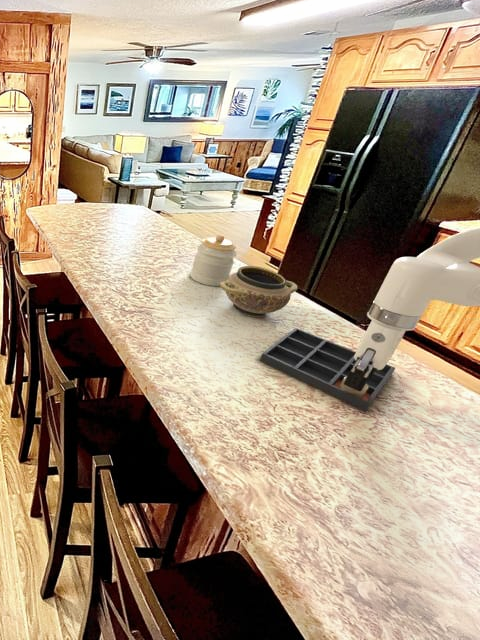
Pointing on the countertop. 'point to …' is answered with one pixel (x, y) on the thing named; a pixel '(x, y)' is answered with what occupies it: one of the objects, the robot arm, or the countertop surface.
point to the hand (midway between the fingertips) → (356, 381)
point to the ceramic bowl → (257, 291)
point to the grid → (322, 366)
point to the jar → (213, 261)
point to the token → (353, 391)
